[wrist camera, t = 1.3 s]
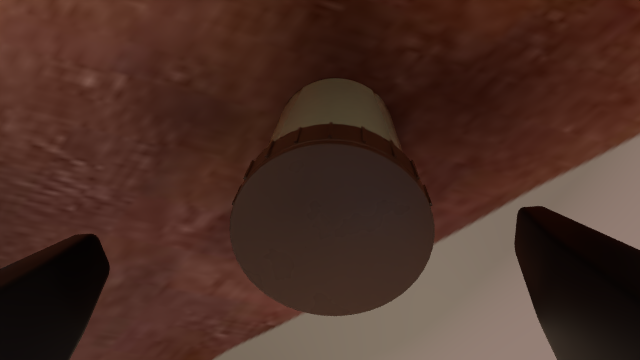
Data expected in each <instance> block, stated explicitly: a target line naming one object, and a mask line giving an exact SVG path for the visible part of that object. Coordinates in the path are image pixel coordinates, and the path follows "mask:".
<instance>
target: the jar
mask: <svg viewBox="0 0 640 360" xmlns="http://www.w3.org/2000/svg"><path fill="white" fill-rule="evenodd" d="M329 122H333V124H344V125H351V126H356V127H359V128H361V127H362V126H363V127H365V129H366V130H369V131H371V132H374V133H376V134H378V135H380V136H382V137H383V138H385V139H387V140H388V141H390V139H391V140H392V141H393V143H394V145H395V146H396V147H398V148H399V149H400V150H401V151H402V149H401V146H400V143H399V140H398V137H397V134H396V130H395V127H394V124H393V121H392V118H391V115H390V113H389V111H388V109H387V107H386V105H385V104H384V102H383V101H382V99H381V98H380V97H379V96H378V95H377V94H376V93H375V92H373V91H372V90H371V89H369V88H368V87H366V86H365V85H362V84H360V83H358V82H355V81H352V80H348V79H341V78H332V79H324V80H320V81H316V82H314V83H311V84H309V85H307V86H305V87H304V88H302V89H301V90H299V91H298V92H297V93H296V94H295V95H294V96H293V97H292V98H291V99H290V100H289V102H288V103H287V104H286V106H285V108H284V110H283V112H282V114H281V117H280V119H279V121H278V124H277V126H276V128H275V131H274V133H273V135H272V138H271V140H270V142H271V141H272V140H274V142H275V141H276V140H277V139H279V138H280V137H282V136H284V135H286V134H288V133H290V132H292V131H295V130H297V129H298V127H300V126H301V128H304V127H308V126H313V125H320V124H329ZM270 142H269V144H270ZM268 146H269V145H268Z"/></svg>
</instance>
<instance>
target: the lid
mask: <svg viewBox="0 0 640 360" xmlns="http://www.w3.org/2000/svg"><path fill="white" fill-rule="evenodd" d="M243 179H245V180H244V182H243V184H242V185H241V186H240V188H239V190H238V192H237V194H236V196H235V198H234V200H233V203H232V205H233V208H232V212H231V217H230V238H231V243H232V247H233V251H234V254H235V256H236V259H237V261H238V263H239V265H240V266H241V268H242V270H243V271H244V273H245V274H246V275H247V277H248V278H249V279H250V280H251V281H252V282H253V283H254V284H255V285H256V286H257V288H259V289H260V290H261V291H262V292H264V293H265V294H266V295H267V296H269V297H271V298H272V299H274V300H275V301H277V302H279V303H281V304H283V305H285V306H287V307H290V308H293V309H295V310H298V311H302V312H306V313H310V314H316V315H324V316H343V315H352V314H358V313H362V312H366V311H370V310H373V309H375V308H378V307H381V306H383V305H385V304H387V303H389V302H390V301H392V300H394V299H395V298H397V297H398V296H400V295H401V294H402V293H404V292H405V291H406V290H407V289H408V288H409V287H410V286H411V285H412V284H413V283H414V282H415V281H416V280H417V279H418V277H419V276H420V274H421V273H422V271H423V270H424V268H425V266H426V264H427V262H428V260H429V258H430V255H431V252H432V248H433V243H434V220H433V214H432V211H431V207H430V206H432V203H431V200H430V197H429V195H428V192H427V190H426V187H425V185H422V183H421V180H420V177H419V175H418V172H417V170H416V167H415V164H414V162H413V160H411V161H410V160H409V159H408V158H407V157H406V155H405V154H404V153H403V152H402V151H401V150H400V149H399V148H398V147H396V146H395V145H394V143H393V141H392V140H391V139H390V141H388V140H387V139H385V138H383V137H382V136H380V135H378V134H376V133H374V132H371V131H369V130H366V129H365V127H363V126H362V127H361V128H359V127H356V126H351V125H344V124H333V122H329V124H320V125H313V126H308V127H304V128H301V126H300V127H298V129H297V130H295V131H292V132H290V133H288V134H286V135H284V136H282V137H280V138H279V139H277V140H276V141H275V142H274V140H272V141H271V142H270V144H269V146H268V147H267V148H266V149H265V150H264V151H263V152H262V153H261V154H260V155H259V156H258V157H257V159H256V160H255V161H253V160H252V162H251V163H250V165H249V168H248V170H247V172H246V174H245V176H244V178H243Z"/></svg>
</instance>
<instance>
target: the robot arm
mask: <svg viewBox="0 0 640 360" xmlns="http://www.w3.org/2000/svg"><path fill="white" fill-rule="evenodd" d="M515 252H516V256H517V259H518V262H519V265H520V267H521V271H522V273H523V276H524V279H525V282H526V285H527V288H528V291H529V294H530V297H531V300H532V303H533V306H534V309H535V311H536V314H537V317H538V320H539V322H540V324H541V327H542V329H543V331H544V333H545V335H546V337H547V339H548V342H549V344H550V346H551V348H552V350H553V352H554V354H555V356H556V358H557V360H640V250H638V249H636V248H634V247H632V246H629V245H627V244H625V243H623V242H620V241H618V240H616V239H614V238H611V237H609V236H607V235H605V234H603V233H600V232H598V231H596V230H594V229H592V228H589V227H587V226H585V225H583V224H580V223H578V222H576V221H574V220H572V219H569V218H567V217H565V216H562V215H560V214H558V213H556V212H554V211H551V210H549V209H547V208H545V207H542V206H534V207H523V208H521V209H520V210H519V211H518V214H517V223H516V233H515ZM109 270H110V266H109V262H108V259H107V257H106V255H105V252H104V250H103V247H102V245H101V243H100V240H99V238H98V237H97V236H96V235H94V234H78V235H74V236H72V237H69V238H67V239H65V240H63V241H61V242H58V243H56V244H54V245H52V246H50V247H47V248H45V249H43V250H41V251H39V252H36V253H34V254H32V255H30V256H28V257H26V258H23V259H21V260H19V261H17V262H15V263H12V264H10V265H8V266H6V267H4V268H1V269H0V360H70V358H71V356H72V354H73V352H74V350H75V349H76V347H77V345H78V343H79V341H80V339H81V337H82V335H83V333H84V331H85V329H86V327H87V324H88V322H89V320H90V317H91V315H92V313H93V310H94V308H95V306H96V303H97V301H98V299H99V296H100V294H101V291H102V289H103V287H104V284H105V282H106V280H107V277H108V275H109Z"/></svg>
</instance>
